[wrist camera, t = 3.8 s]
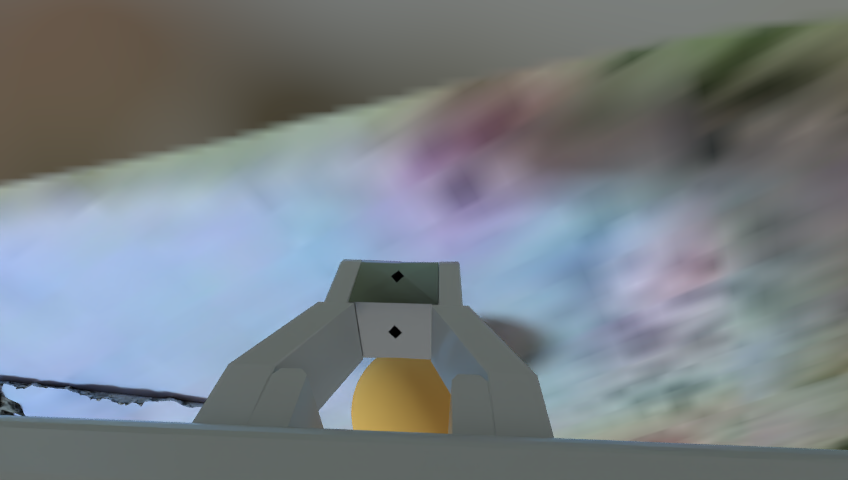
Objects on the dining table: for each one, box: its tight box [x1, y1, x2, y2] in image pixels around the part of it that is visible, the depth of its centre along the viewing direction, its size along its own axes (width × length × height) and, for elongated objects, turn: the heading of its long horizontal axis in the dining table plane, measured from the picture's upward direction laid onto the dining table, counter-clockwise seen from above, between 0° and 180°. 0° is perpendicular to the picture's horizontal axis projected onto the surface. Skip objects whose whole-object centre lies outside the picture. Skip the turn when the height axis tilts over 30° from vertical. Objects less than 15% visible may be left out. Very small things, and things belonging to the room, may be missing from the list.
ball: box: [351, 358, 451, 434], centre depth 17 cm, size 6×6×6 cm
